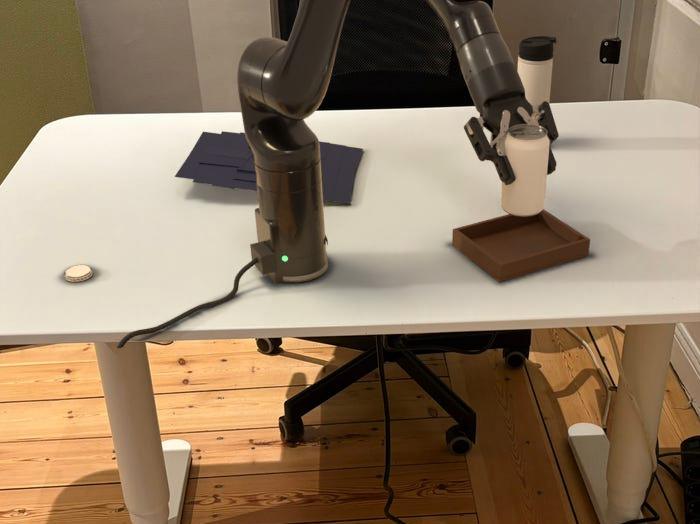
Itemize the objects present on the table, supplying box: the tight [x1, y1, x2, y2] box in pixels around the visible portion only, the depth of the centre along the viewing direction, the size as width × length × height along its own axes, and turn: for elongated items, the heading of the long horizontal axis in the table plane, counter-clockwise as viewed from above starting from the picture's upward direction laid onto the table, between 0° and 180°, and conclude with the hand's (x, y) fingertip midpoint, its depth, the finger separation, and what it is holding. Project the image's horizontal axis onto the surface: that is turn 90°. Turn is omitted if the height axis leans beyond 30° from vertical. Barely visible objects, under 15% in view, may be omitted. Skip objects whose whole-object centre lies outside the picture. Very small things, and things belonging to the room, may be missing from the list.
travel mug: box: [517, 35, 557, 125], centre depth 172 cm, size 6×7×20 cm
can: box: [500, 124, 549, 217], centre depth 136 cm, size 6×6×12 cm
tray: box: [451, 208, 591, 283], centre depth 142 cm, size 16×13×3 cm
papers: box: [174, 130, 364, 204], centre depth 166 cm, size 24×30×4 cm
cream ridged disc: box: [63, 264, 94, 283], centre depth 138 cm, size 4×4×1 cm
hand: (531, 177), depth 135 cm, fingers closed on can, 6 cm apart
